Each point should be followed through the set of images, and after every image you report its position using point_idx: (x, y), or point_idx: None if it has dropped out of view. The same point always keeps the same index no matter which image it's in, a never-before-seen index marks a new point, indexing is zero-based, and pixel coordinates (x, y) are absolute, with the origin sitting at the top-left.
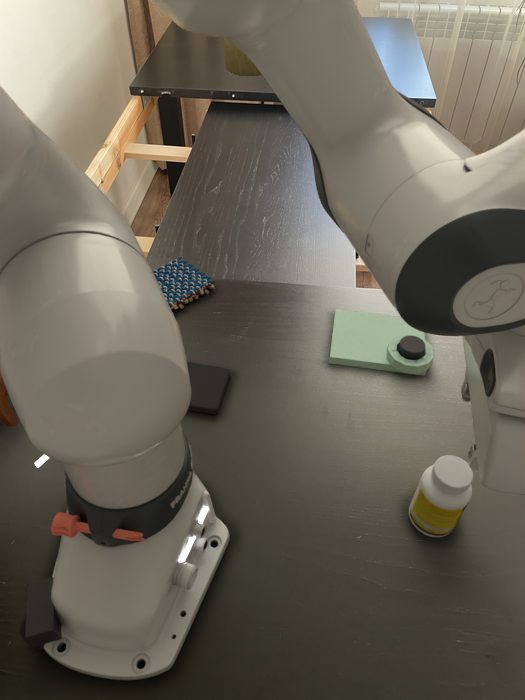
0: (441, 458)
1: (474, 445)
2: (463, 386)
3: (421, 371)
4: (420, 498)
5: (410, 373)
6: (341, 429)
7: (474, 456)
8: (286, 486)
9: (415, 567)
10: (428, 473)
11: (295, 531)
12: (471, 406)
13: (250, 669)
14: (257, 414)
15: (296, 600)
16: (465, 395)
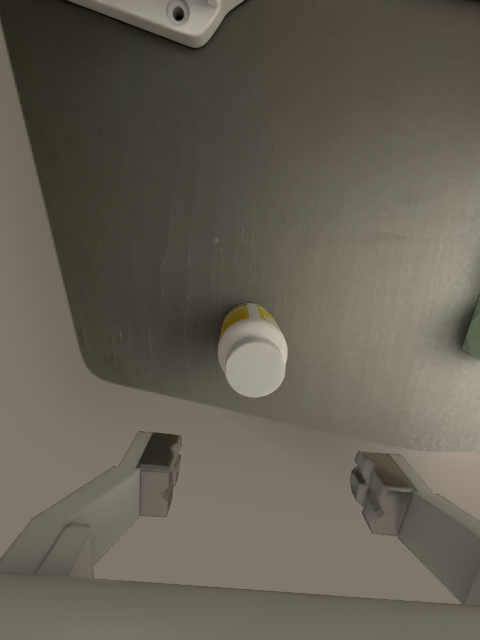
0: (278, 356)
1: (162, 474)
2: (402, 472)
3: (470, 347)
4: (240, 316)
5: (468, 331)
6: (376, 224)
7: (110, 472)
8: (282, 138)
9: (187, 302)
10: (266, 331)
11: (216, 154)
12: (199, 612)
13: (44, 100)
14: (415, 77)
15: (130, 158)
16: (370, 467)
